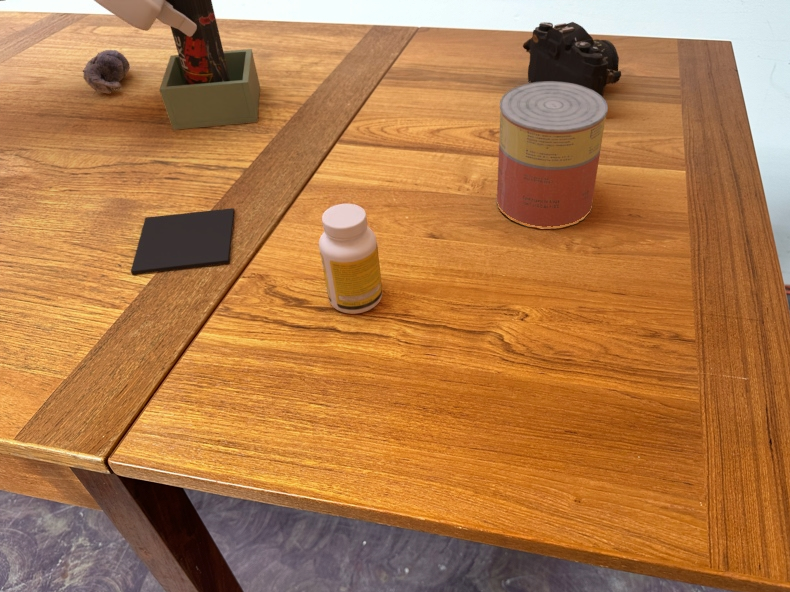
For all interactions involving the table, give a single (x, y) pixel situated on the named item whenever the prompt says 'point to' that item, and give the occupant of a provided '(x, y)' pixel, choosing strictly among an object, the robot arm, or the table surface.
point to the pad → (184, 241)
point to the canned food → (549, 151)
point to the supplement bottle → (350, 259)
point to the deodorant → (200, 44)
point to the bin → (212, 94)
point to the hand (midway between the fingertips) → (197, 20)
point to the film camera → (571, 57)
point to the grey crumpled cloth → (106, 71)
